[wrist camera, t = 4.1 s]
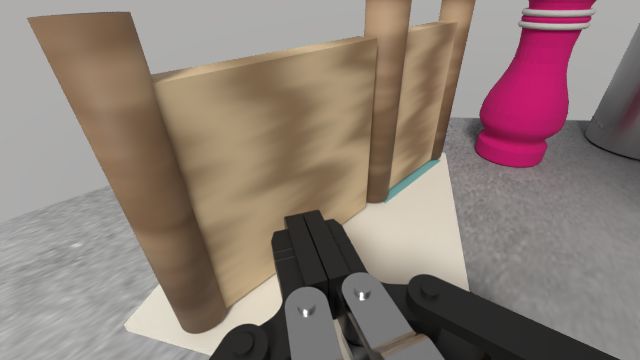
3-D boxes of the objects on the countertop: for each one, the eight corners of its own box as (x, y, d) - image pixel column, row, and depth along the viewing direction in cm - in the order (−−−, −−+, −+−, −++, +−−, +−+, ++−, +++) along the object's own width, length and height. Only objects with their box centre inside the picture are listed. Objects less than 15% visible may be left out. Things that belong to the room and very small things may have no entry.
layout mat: (444, 158, 31) (445, 152, 31) (490, 438, 12) (494, 431, 12) (281, 142, 36) (281, 137, 35) (122, 329, 16) (116, 322, 16)
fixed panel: (375, 207, 23) (397, -28, 15) (350, 193, 25) (357, -25, 16) (446, 153, 30) (487, -27, 22) (423, 145, 32) (453, -25, 23)
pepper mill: (468, 135, 36) (526, -84, 25) (537, 143, 33) (634, -93, 23) (471, 164, 30) (549, -103, 19) (555, 175, 28) (696, -119, 17)
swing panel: (347, 196, 24) (352, -4, 17) (370, 209, 23) (388, -4, 15) (172, 312, 16) (22, 16, 8) (191, 344, 14) (32, 20, 7)
